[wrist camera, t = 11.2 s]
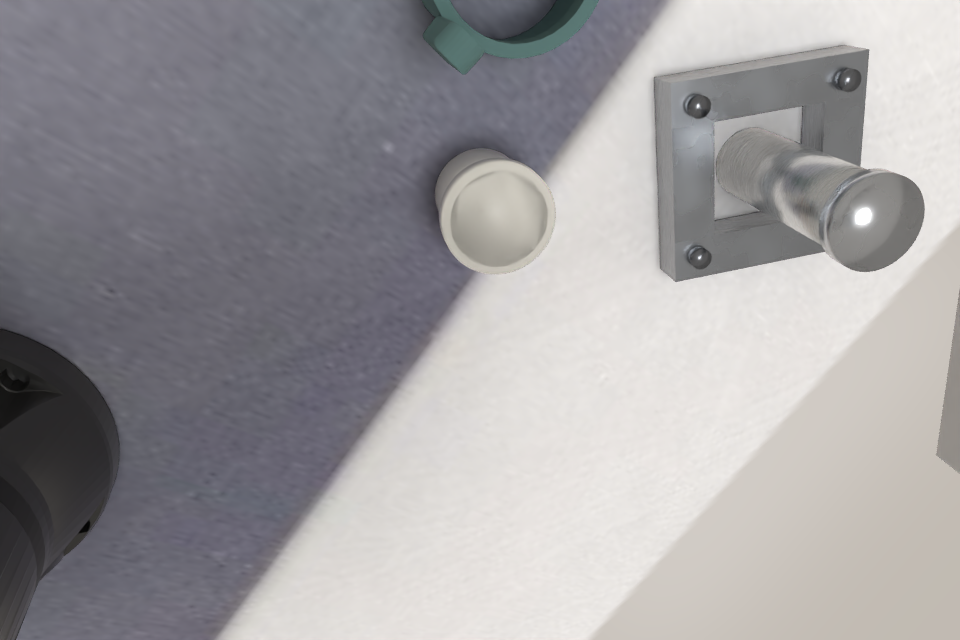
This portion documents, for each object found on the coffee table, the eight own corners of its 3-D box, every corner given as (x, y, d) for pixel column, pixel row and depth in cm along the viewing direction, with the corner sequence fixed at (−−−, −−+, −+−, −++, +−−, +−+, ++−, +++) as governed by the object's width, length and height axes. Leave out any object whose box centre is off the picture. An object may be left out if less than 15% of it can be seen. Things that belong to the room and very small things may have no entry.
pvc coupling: (436, 251, 46) (450, 284, 42) (419, 150, 44) (433, 173, 39) (535, 232, 47) (560, 262, 42) (525, 132, 44) (550, 152, 40)
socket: (660, 268, 49) (679, 285, 47) (654, 77, 44) (675, 85, 42) (832, 234, 51) (860, 248, 48) (844, 45, 46) (876, 50, 43)
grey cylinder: (711, 206, 48) (828, 280, 38) (710, 129, 46) (834, 183, 36) (783, 193, 49) (918, 261, 38) (785, 116, 47) (929, 165, 36)
